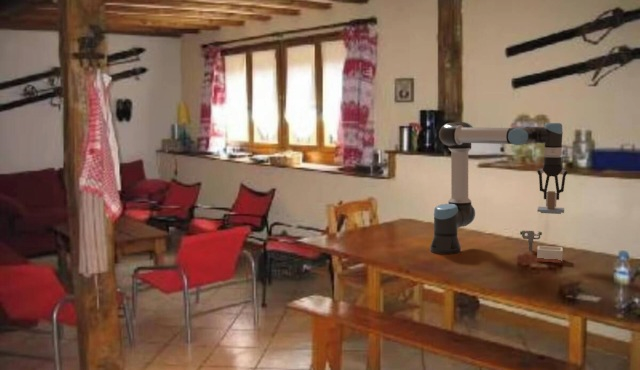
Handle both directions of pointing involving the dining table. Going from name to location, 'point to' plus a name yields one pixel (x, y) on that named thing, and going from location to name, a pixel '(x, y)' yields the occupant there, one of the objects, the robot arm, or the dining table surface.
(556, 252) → the box
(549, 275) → the dining table surface
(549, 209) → the lid
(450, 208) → the robot arm
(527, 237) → the mechanical component
